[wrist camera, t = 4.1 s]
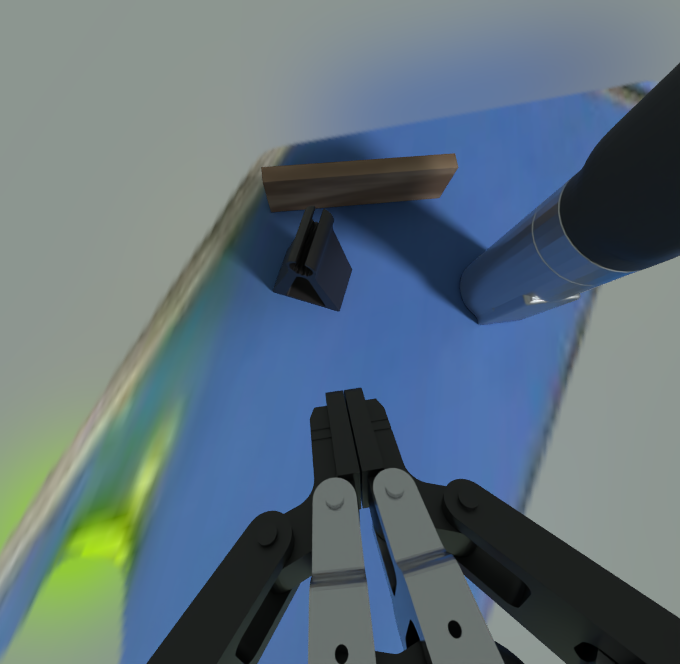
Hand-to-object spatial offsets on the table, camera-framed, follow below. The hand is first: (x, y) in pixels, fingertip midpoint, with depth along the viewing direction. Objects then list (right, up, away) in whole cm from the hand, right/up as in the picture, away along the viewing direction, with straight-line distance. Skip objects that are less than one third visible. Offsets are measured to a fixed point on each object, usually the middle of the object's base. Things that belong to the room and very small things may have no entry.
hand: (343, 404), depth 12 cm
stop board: (+2, +22, +30) cm, 37 cm away
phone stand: (-4, +10, +27) cm, 29 cm away
